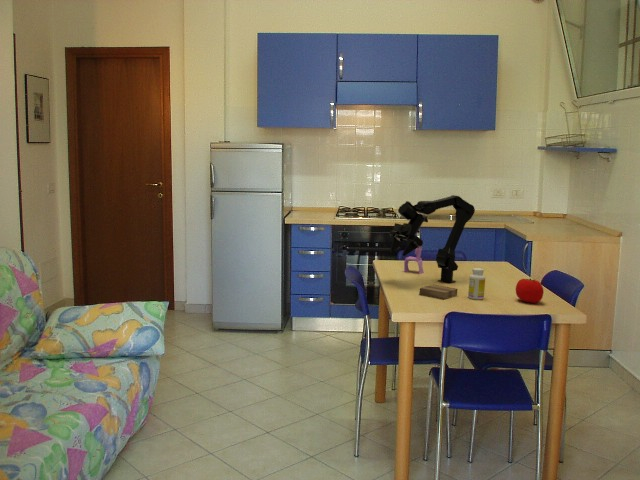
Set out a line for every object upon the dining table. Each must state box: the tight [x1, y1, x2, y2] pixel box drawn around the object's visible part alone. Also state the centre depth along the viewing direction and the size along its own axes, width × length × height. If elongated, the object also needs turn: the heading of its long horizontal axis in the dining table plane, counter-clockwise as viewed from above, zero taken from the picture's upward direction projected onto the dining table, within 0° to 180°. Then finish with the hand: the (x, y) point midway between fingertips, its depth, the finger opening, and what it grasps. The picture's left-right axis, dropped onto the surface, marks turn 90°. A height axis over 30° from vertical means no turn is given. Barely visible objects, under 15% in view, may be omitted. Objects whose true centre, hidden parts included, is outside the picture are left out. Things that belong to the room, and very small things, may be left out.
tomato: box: [515, 278, 544, 304], centre depth 306 cm, size 11×13×10 cm
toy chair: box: [403, 245, 424, 275], centre depth 360 cm, size 8×9×15 cm
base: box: [418, 284, 459, 301], centre depth 310 cm, size 12×12×3 cm
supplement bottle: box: [467, 267, 486, 300], centre depth 308 cm, size 7×7×13 cm
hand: (396, 254), depth 324 cm, fingers open, 9 cm apart
